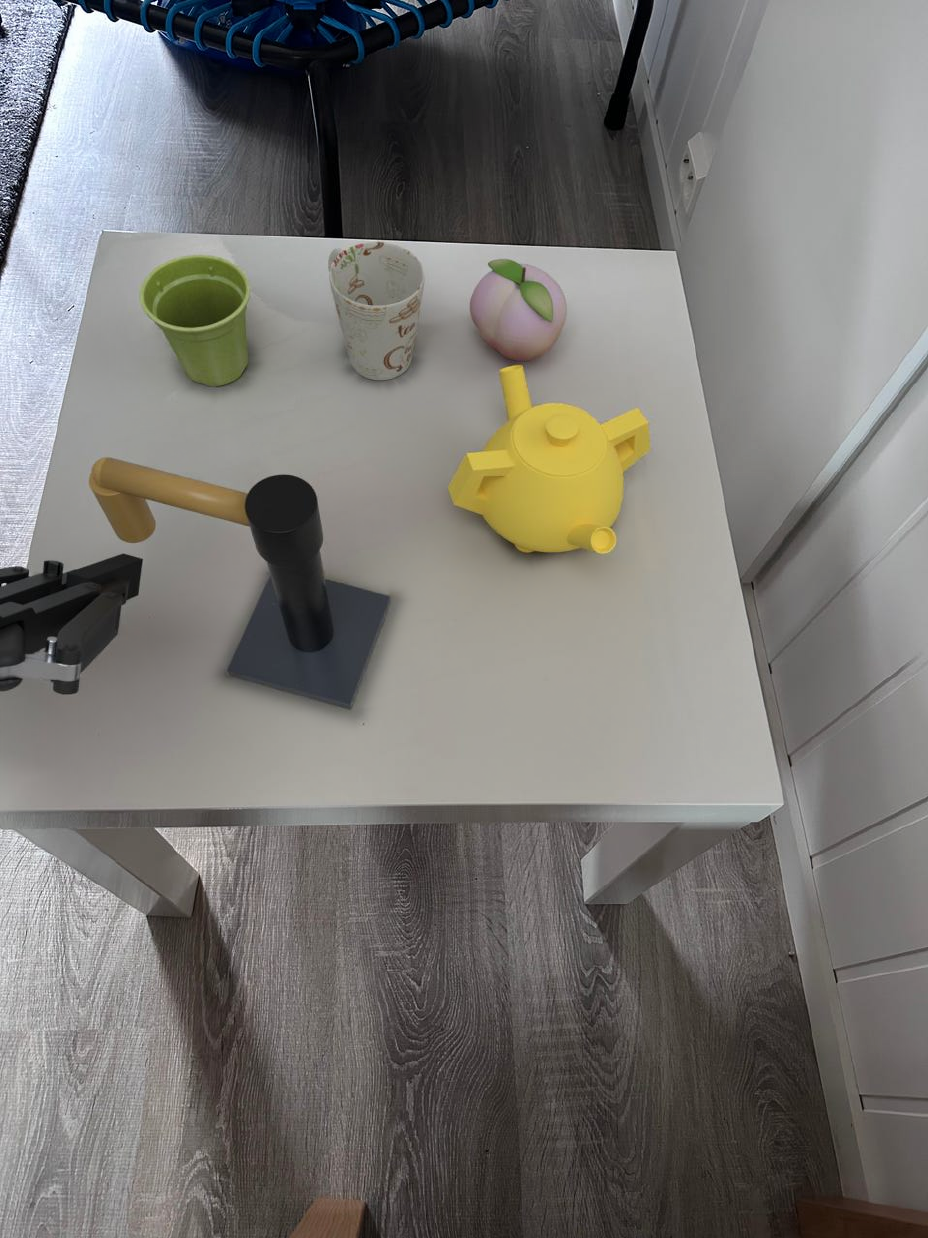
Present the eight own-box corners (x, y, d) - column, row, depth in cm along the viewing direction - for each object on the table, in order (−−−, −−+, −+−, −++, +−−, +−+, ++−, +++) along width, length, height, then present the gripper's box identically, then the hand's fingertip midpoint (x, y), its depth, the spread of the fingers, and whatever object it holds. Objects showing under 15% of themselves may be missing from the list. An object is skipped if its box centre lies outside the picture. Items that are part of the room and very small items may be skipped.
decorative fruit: (576, 355, 84) (596, 272, 75) (521, 398, 81) (535, 316, 72) (508, 306, 87) (519, 220, 78) (452, 345, 84) (457, 260, 75)
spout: (102, 546, 59) (61, 476, 52) (131, 497, 61) (94, 423, 54) (315, 604, 57) (302, 540, 50) (337, 552, 59) (327, 484, 52)
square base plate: (228, 675, 66) (186, 584, 53) (276, 571, 70) (247, 465, 58) (350, 710, 65) (336, 625, 53) (390, 602, 70) (386, 501, 57)
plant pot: (185, 414, 78) (161, 342, 70) (151, 347, 81) (124, 272, 74) (280, 381, 80) (266, 308, 73) (242, 317, 84) (226, 242, 76)
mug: (371, 403, 80) (366, 320, 71) (296, 326, 84) (282, 238, 75) (440, 364, 82) (443, 280, 74) (364, 292, 87) (358, 204, 78)
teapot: (410, 450, 77) (410, 359, 67) (586, 403, 81) (610, 312, 71) (491, 633, 69) (504, 560, 59) (683, 571, 73) (725, 494, 63)
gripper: (-15, 649, 35) (226, 547, 57) (-294, 567, 36) (50, 498, 58) (-26, 805, 37) (210, 648, 60) (-289, 724, 38) (40, 600, 61)
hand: (130, 574), depth 59 cm, fingers closed
